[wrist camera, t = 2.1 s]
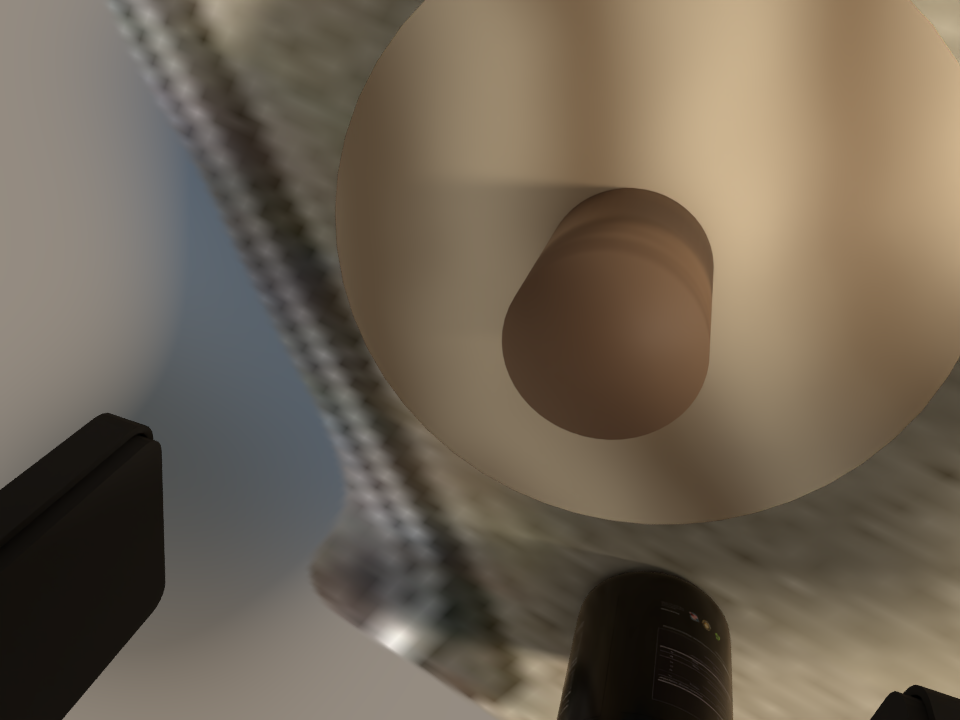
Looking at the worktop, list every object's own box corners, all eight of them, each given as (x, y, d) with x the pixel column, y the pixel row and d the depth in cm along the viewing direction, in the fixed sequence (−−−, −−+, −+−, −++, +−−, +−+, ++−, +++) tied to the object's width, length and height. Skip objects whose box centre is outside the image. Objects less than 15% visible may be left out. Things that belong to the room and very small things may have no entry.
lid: (904, -259, 15) (994, -365, 10) (1034, 444, 21) (1135, 609, 16) (255, 75, 22) (109, 114, 17) (483, 536, 28) (426, 672, 23)
